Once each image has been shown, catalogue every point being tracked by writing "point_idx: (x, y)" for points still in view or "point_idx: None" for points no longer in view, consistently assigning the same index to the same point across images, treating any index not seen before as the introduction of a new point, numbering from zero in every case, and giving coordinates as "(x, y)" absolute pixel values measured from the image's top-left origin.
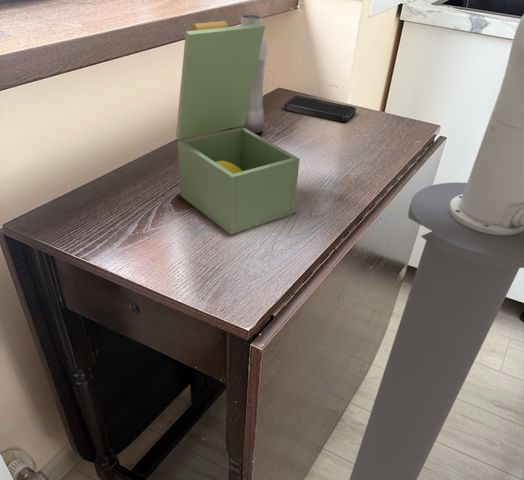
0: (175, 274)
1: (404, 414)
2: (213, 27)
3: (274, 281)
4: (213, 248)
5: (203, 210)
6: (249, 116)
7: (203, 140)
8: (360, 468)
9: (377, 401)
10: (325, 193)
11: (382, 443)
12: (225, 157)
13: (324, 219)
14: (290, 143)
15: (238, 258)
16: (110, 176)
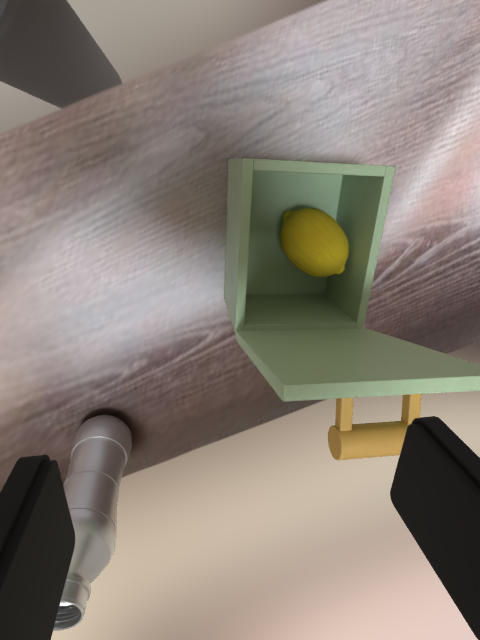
0: (464, 126)
1: (85, 30)
2: (381, 434)
3: (391, 10)
4: (389, 149)
5: None
6: (113, 434)
7: (321, 321)
8: None
9: (89, 86)
10: (129, 183)
11: (103, 63)
12: (268, 308)
13: (196, 108)
14: (61, 368)
15: (383, 103)
16: None
